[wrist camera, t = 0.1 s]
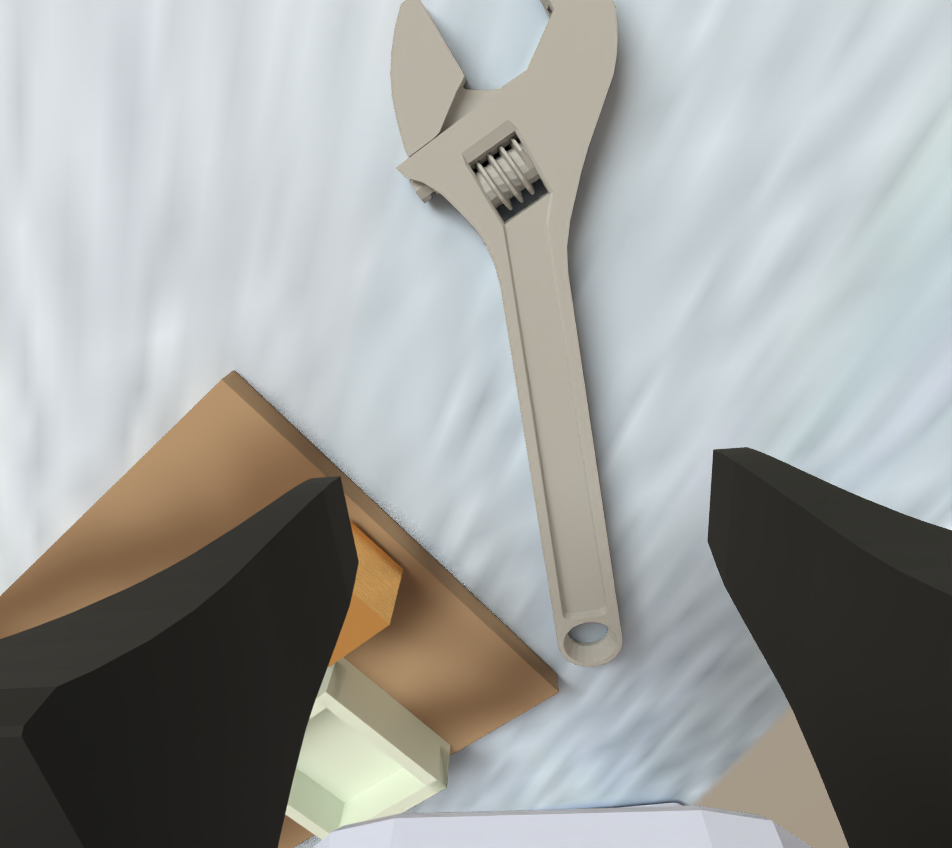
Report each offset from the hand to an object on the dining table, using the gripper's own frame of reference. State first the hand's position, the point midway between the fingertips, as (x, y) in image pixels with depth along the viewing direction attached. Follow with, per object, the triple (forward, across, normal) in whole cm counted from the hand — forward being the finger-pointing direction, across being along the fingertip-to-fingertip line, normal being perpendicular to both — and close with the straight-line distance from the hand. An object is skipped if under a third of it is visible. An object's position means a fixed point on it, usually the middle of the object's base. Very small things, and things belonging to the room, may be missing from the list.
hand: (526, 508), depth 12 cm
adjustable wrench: (+10, 0, +1) cm, 11 cm away
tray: (+10, +9, +17) cm, 21 cm away
